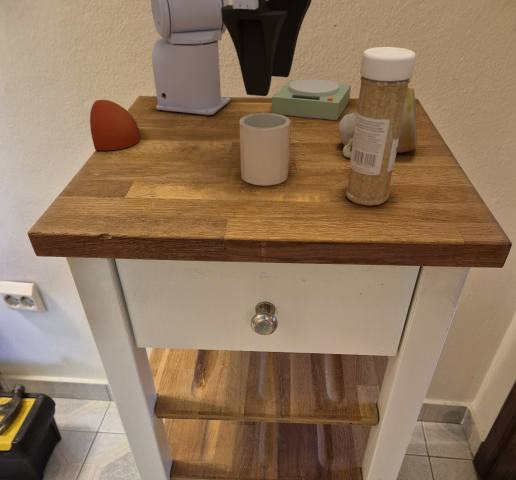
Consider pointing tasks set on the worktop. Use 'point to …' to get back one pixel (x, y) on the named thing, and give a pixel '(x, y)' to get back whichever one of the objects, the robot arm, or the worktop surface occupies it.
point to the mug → (406, 132)
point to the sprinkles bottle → (378, 122)
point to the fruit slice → (112, 126)
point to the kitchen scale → (311, 99)
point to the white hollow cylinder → (264, 148)
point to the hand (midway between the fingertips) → (268, 84)
